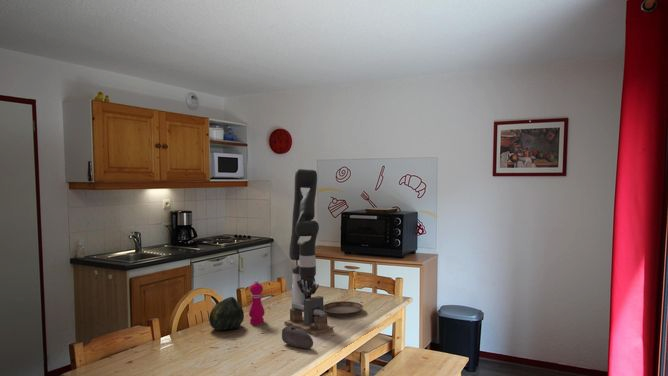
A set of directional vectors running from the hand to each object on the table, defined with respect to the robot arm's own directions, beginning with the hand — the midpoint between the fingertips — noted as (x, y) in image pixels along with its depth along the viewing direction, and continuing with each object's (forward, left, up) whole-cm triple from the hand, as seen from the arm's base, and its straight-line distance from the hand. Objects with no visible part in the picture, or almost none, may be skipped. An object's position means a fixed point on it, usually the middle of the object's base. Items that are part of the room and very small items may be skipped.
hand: (307, 303), depth 199 cm
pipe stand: (0, 0, -11) cm, 11 cm away
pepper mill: (-23, -12, -11) cm, 28 cm away
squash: (-26, -26, -11) cm, 38 cm away
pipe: (0, 0, -5) cm, 5 cm away
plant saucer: (-5, +27, -12) cm, 30 cm away
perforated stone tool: (+14, -17, -11) cm, 25 cm away
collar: (+4, 0, -8) cm, 8 cm away
